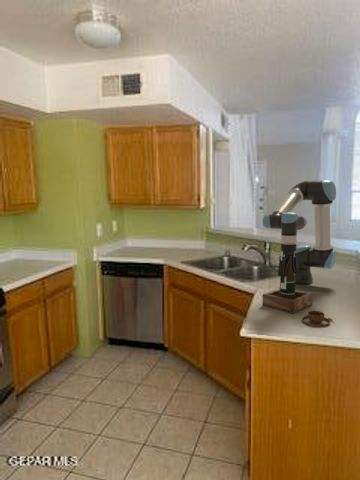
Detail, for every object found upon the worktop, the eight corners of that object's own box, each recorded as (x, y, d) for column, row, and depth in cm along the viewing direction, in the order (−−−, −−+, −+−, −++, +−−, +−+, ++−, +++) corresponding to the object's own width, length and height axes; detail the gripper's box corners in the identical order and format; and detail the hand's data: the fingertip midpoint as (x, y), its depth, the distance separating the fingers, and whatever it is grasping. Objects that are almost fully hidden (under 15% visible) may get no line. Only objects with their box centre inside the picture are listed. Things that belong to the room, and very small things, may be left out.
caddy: (281, 298, 208) (281, 287, 207) (312, 305, 195) (312, 293, 194) (262, 305, 195) (262, 294, 195) (294, 313, 182) (294, 301, 182)
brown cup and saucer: (301, 329, 164) (301, 316, 163) (285, 314, 184) (286, 302, 183) (340, 327, 165) (341, 314, 164) (320, 312, 185) (321, 301, 184)
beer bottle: (278, 298, 199) (278, 254, 196) (292, 298, 199) (294, 253, 195) (281, 303, 191) (282, 256, 188) (296, 303, 191) (298, 256, 188)
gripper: (292, 240, 200) (291, 282, 204) (270, 245, 186) (270, 289, 189) (305, 241, 195) (304, 284, 198) (284, 246, 181) (283, 292, 184)
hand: (287, 287), depth 194 cm, fingers closed on beer bottle, 8 cm apart
